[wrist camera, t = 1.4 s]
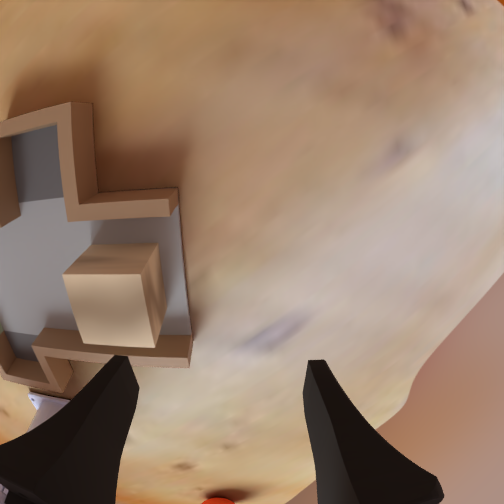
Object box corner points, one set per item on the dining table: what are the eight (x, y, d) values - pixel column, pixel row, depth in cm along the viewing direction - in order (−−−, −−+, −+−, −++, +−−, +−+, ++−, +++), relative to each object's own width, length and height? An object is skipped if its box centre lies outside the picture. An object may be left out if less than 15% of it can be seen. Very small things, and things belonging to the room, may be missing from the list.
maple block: (167, 307, 22) (155, 347, 18) (104, 306, 22) (83, 343, 17) (158, 242, 20) (140, 274, 16) (91, 244, 20) (62, 274, 16)
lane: (198, 380, 25) (196, 406, 23) (-20, 353, 24) (-32, 368, 21) (174, 91, 17) (164, 86, 14) (-77, 158, 15) (-97, 165, 12)
